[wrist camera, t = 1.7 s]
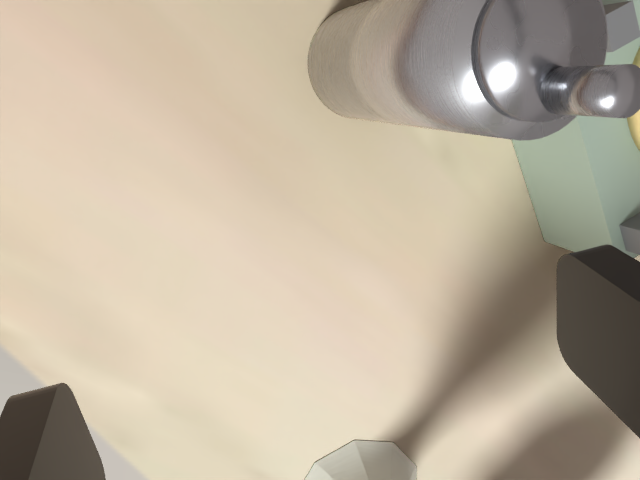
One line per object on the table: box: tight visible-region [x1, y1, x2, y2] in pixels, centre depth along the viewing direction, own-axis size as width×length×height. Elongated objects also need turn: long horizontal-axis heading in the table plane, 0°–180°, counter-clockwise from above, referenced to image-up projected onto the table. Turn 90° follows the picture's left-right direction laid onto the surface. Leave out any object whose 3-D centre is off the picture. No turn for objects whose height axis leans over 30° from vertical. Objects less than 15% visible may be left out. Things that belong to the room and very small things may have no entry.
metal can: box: [308, 0, 640, 141], centre depth 23 cm, size 6×6×17 cm
